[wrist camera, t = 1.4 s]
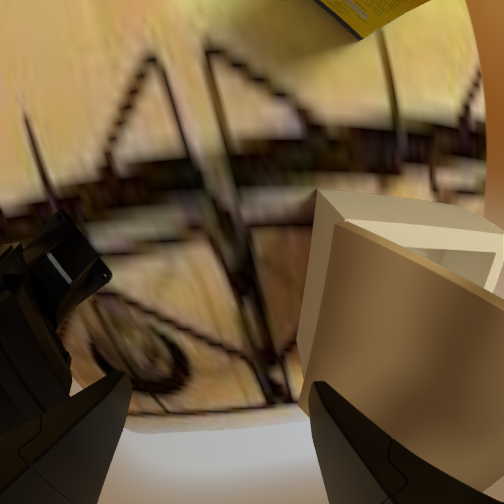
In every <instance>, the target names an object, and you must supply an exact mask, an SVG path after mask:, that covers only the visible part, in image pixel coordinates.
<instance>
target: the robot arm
mask: <svg viewBox="0 0 504 504" xmlns="http://www.w3.org/2000/svg"><path fill="white" fill-rule="evenodd" d="M60 215H61V216H62V219H61V218H60ZM104 274H106V275H107V277H105V276H104ZM111 278H112V273H111V271H110V270H109V269H108V267H107V266H106V265H105V264H104V262H103V261H102V260H101V259H100V257H99V256H98V255H97V253H96V252H95V251H94V249H93V248H92V247H91V246H90V244H89V243H88V242H87V240H86V239H85V238H84V236H83V235H82V234H81V232H80V231H79V230H78V229H77V227H76V226H75V224H74V223H73V222H72V220H71V219H70V217H69V216H68V215H67V213H66V212H65V211H63V210H60V211H58V212H57V213H55V215H54V216H53V217H52V218H51V219H50V220H49V221H48V222H47V223H46V224H45V226H44V227H43V228H42V229H41V230H40V231H39V232H38V234H37V235H36V236H35V237H34V238H33V239H32V241H31V242H30V243H29V244H28V246H27V247H26V248H25V249H23V248H22V245H21V242H16V243H11V244H8V243H7V241H5V240H4V239H3V238H2V237H1V236H0V504H97V502H98V499H99V496H100V493H101V490H102V487H103V484H104V481H105V478H106V475H107V472H108V469H109V466H110V463H111V461H112V458H113V455H114V452H115V450H116V447H117V444H118V442H119V439H120V436H121V433H122V431H123V428H124V425H125V421H126V417H127V413H128V408H129V404H130V400H131V396H132V385H131V382H130V379H129V376H128V373H127V372H126V371H121V370H115V371H113V372H111V373H110V374H108V375H106V376H105V377H103V378H101V379H100V380H98V381H97V382H95V383H93V384H92V385H90V386H88V387H87V388H85V389H83V390H82V391H80V392H78V393H77V394H75V395H73V396H72V397H70V395H69V393H70V388H71V385H72V375H71V370H70V365H71V359H72V358H71V356H70V354H69V352H68V351H66V350H65V348H64V346H63V344H62V342H61V340H60V338H59V336H58V334H57V333H56V332H57V330H58V329H59V328H60V326H61V325H62V323H63V322H64V321H65V319H66V318H67V317H68V315H69V314H70V313H71V311H72V310H73V309H74V307H76V306H77V305H78V304H80V303H81V302H82V301H84V300H85V299H86V298H88V297H89V296H90V295H92V294H93V293H94V292H96V291H97V290H98V289H100V288H101V287H102V286H104V285H105V284H106V283H108V282H109V281H110V280H111ZM308 407H309V415H310V424H311V432H312V438H313V443H314V447H315V450H316V454H317V457H318V462H319V465H320V469H321V473H322V477H323V481H324V485H325V489H326V492H327V496H328V500H329V504H504V502H500V501H498V500H496V499H494V498H492V497H490V496H488V495H486V494H484V493H482V492H480V491H478V490H476V489H474V488H472V487H471V486H469V485H467V484H465V483H463V482H461V481H459V480H458V479H456V478H454V477H452V476H451V475H449V474H447V473H445V472H444V471H442V470H440V469H438V468H437V467H435V466H433V465H432V464H430V463H428V462H426V461H425V460H423V459H422V458H420V457H419V456H417V455H416V454H414V453H412V452H411V451H410V450H408V449H407V448H406V447H404V446H403V445H402V444H400V443H399V442H398V441H397V440H395V439H394V438H392V437H391V436H390V435H389V434H387V433H386V432H385V431H384V430H382V429H381V428H380V427H379V426H378V425H376V424H375V423H374V422H373V421H371V420H370V419H369V418H368V417H367V416H365V415H364V414H363V413H362V412H361V411H359V410H358V409H357V408H356V407H355V406H354V405H352V404H351V403H350V402H349V401H348V400H346V399H345V398H344V397H343V396H342V395H341V394H339V393H338V392H337V391H336V390H335V389H334V388H332V387H331V386H330V385H329V384H328V383H327V382H325V381H314V382H313V383H312V385H311V389H310V392H309V396H308Z"/></svg>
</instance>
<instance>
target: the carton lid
mask: <svg viewBox="0 0 504 504" xmlns="http://www.w3.org/2000/svg"><path fill="white" fill-rule="evenodd" d="M314 381H325V382H327V383H328V384H329V385H330V386H331V387H332V388H334V389H335V390H336V391H337V392H338V393H339V394H341V395H342V396H343V397H344V398H345V399H346V400H348V401H349V402H350V403H351V404H352V405H354V406H355V407H356V408H357V409H358V410H359V411H361V412H362V413H363V414H364V415H365V416H367V417H368V418H369V419H370V420H371V421H373V422H374V423H375V424H376V425H378V426H379V427H380V428H381V429H382V430H384V431H385V432H386V433H387V434H389V435H390V436H391V437H392V438H394V439H395V440H397V441H398V442H399V443H400V444H402V445H403V446H404V447H406V448H407V449H408V450H410V451H411V452H412V453H414V454H416V455H417V456H419V457H420V458H422V459H423V460H425V461H426V462H428V463H430V464H432V465H433V466H435V467H437V468H438V469H440V470H442V471H444V472H445V473H447V474H449V475H451V476H452V477H454V478H456V479H458V480H459V481H461V482H463V483H465V484H467V485H469V486H471V487H472V488H474V489H476V490H478V491H480V492H483V491H484V490H486V489H487V488H488V487H490V486H491V485H492V484H494V483H495V482H496V481H497V480H499V479H500V478H501V477H502V476H503V475H504V299H502V298H500V297H498V296H496V295H495V294H493V293H491V292H489V291H488V290H486V289H484V288H482V287H480V286H479V285H477V284H475V283H473V282H471V281H469V280H468V279H466V278H464V277H462V276H460V275H458V274H456V273H454V272H453V271H451V270H449V269H447V268H445V267H443V266H441V265H439V264H437V263H435V262H433V261H431V260H429V259H427V258H425V257H423V256H421V255H419V254H417V253H415V252H413V251H411V250H409V249H407V248H405V247H403V246H400V245H398V244H396V243H394V242H392V241H390V240H388V239H386V238H383V237H381V236H379V235H377V234H375V233H373V232H370V231H368V230H366V229H364V228H362V227H359V226H357V225H355V224H353V223H350V222H348V221H345V222H339V223H334V230H333V237H332V244H331V250H330V256H329V262H328V268H327V274H326V279H325V285H324V290H323V296H322V301H321V306H320V311H319V316H318V321H317V326H316V330H315V335H314V340H313V344H312V349H311V353H310V358H309V362H308V366H307V370H306V374H305V379H304V383H303V387H302V391H301V394H300V398H299V402H298V406H299V407H300V408H301V409H302V410H303V411H304V412H305V413H306V415H307V416H308V417H309V418H310V415H309V407H308V396H309V392H310V389H311V385H312V383H313V382H314Z"/></svg>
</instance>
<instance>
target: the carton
mask: <svg viewBox="0 0 504 504" xmlns="http://www.w3.org/2000/svg"><path fill="white" fill-rule="evenodd" d="M345 221H348V222H350V223H353V224H355V225H357V226H359V227H362V228H364V229H366V230H368V231H370V232H373V233H375V234H377V235H379V236H381V237H383V238H386V239H388V240H390V241H392V242H394V243H396V244H398V245H400V246H403V247H405V248H407V249H409V250H411V251H413V252H415V253H417V254H419V255H421V256H423V257H425V258H427V259H429V260H431V261H433V262H435V263H437V264H439V265H441V266H443V267H445V268H447V269H449V270H451V271H453V272H454V273H456V274H458V275H460V276H462V277H464V278H466V279H468V280H469V281H471V282H473V283H475V284H477V285H479V286H480V287H482V288H484V289H486V290H488V291H489V292H491V293H493V290H494V288H495V285H496V282H497V280H498V277H499V274H500V271H501V269H502V266H503V262H504V231H503V230H502V229H500V228H499V227H497V226H495V225H494V224H492V223H490V222H489V221H487V220H485V219H484V218H482V217H480V216H478V215H477V214H475V213H473V212H471V211H470V210H468V209H466V208H464V207H462V206H457V205H451V204H445V203H438V202H431V201H424V200H417V199H410V198H402V197H394V196H386V195H377V194H368V193H358V192H348V191H337V190H325V189H317V194H316V204H315V212H314V221H313V229H312V237H311V245H310V253H309V260H308V267H307V274H306V281H305V288H304V294H303V301H302V307H301V313H300V319H299V325H298V331H297V337H296V341H297V346H298V352H299V357H300V362H301V368H302V373H303V378H304V379H305V374H306V370H307V366H308V362H309V358H310V353H311V349H312V344H313V340H314V335H315V330H316V326H317V321H318V316H319V311H320V306H321V301H322V296H323V290H324V285H325V279H326V274H327V268H328V262H329V256H330V250H331V244H332V237H333V230H334V223H339V222H345Z"/></svg>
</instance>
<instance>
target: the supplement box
mask: <svg viewBox="0 0 504 504" xmlns="http://www.w3.org/2000/svg"><path fill="white" fill-rule="evenodd" d="M314 1H315V2H316V3H318V4H319V5H320V6H321V7H322V8H324V9H325V10H326V11H327V12H328V13H330V14H331V15H332V16H333V17H334V18H335V19H337V20H338V21H339V22H340V23H341V24H342V25H343V26H344V27H345V28H347V29H348V30H349V31H350V32H351V33H353V34H354V36H355V37H356V38H357V39H358V40H362V39H364V38H365V37H367V36H368V35H370V34H371V33H373V32H374V31H376V30H378V29H379V28H381V27H383V26H384V25H386V24H388V23H389V22H391V21H393V20H394V19H396V18H398V17H399V16H401V15H403V14H404V13H406V12H408V11H410V10H412V9H414V8H416V7H418V6H420V5H422V4H424V3H426V2H428V1H430V0H314Z"/></svg>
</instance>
